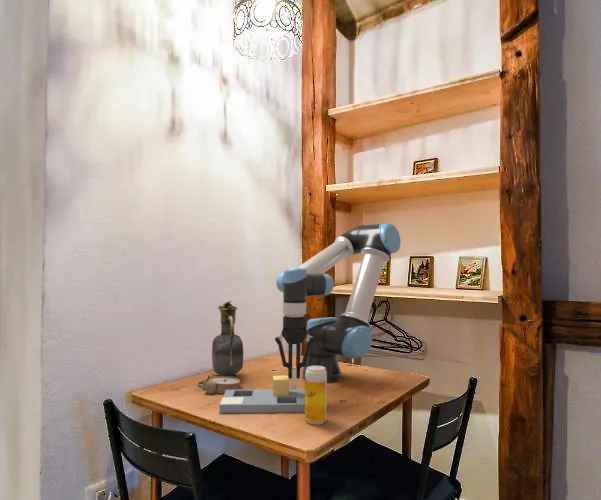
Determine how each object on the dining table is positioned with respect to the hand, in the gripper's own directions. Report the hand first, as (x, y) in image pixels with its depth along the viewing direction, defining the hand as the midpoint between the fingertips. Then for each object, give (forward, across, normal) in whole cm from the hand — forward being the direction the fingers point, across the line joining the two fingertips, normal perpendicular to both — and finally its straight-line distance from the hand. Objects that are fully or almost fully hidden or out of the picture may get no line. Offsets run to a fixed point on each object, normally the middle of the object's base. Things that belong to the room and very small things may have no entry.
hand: (293, 388), depth 137 cm
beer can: (+4, -5, +18) cm, 19 cm away
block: (+2, +4, 0) cm, 4 cm away
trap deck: (+4, +9, +3) cm, 11 cm away
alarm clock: (+4, +26, -13) cm, 29 cm away
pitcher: (+4, +24, -26) cm, 35 cm away
